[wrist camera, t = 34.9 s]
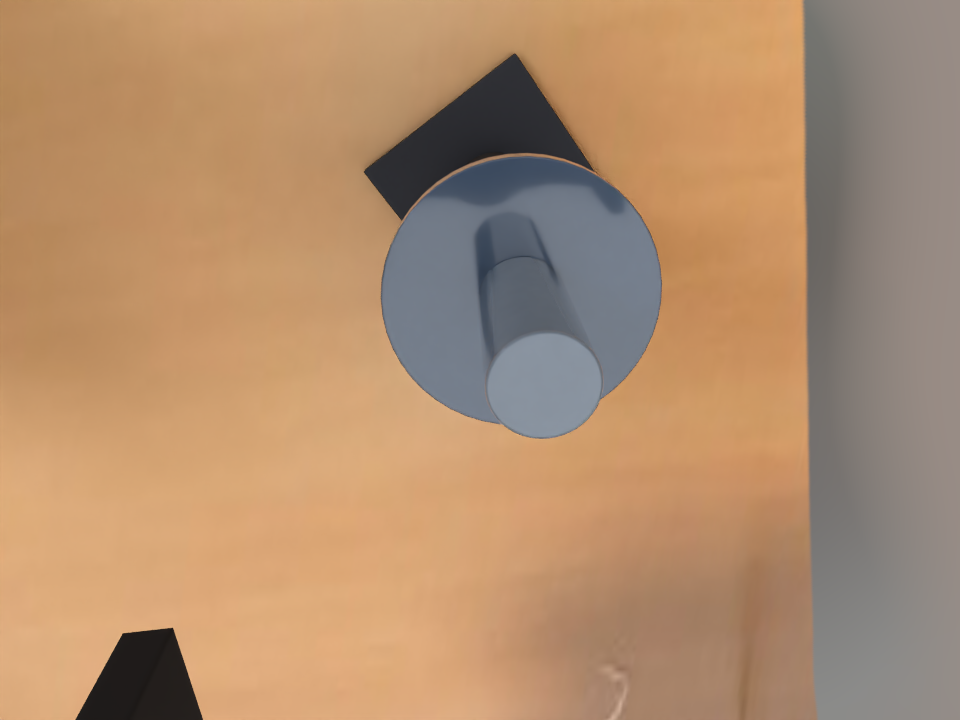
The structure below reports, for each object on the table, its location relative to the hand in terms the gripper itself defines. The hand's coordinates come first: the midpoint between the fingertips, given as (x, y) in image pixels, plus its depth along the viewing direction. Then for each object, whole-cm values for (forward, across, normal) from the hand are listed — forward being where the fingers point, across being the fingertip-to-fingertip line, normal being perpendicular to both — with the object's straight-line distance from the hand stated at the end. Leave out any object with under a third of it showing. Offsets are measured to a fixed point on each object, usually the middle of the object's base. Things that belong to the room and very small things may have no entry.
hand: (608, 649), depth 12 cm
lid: (+18, 0, 0) cm, 18 cm away
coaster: (+39, 0, 0) cm, 39 cm away
